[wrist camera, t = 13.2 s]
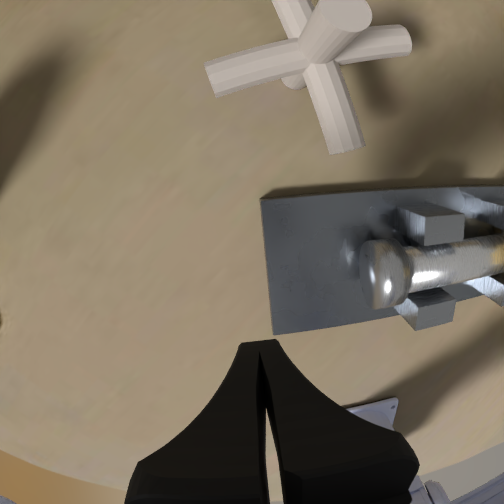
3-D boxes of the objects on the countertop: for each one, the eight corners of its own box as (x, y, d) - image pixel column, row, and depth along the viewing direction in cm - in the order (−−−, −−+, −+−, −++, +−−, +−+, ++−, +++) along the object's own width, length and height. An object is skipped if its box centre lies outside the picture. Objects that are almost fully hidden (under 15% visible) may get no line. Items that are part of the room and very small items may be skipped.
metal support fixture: (531, 274, 22) (562, 292, 18) (272, 327, 22) (279, 369, 17) (540, 185, 19) (576, 194, 15) (259, 198, 19) (266, 212, 15)
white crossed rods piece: (389, 132, 18) (494, 126, 9) (243, 175, 19) (248, 193, 9) (338, -1, 15) (399, -81, 6) (193, 32, 16) (157, -57, 6)
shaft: (500, 265, 20) (531, 283, 16) (358, 292, 20) (381, 321, 16) (505, 218, 19) (539, 230, 15) (358, 233, 19) (386, 252, 15)
